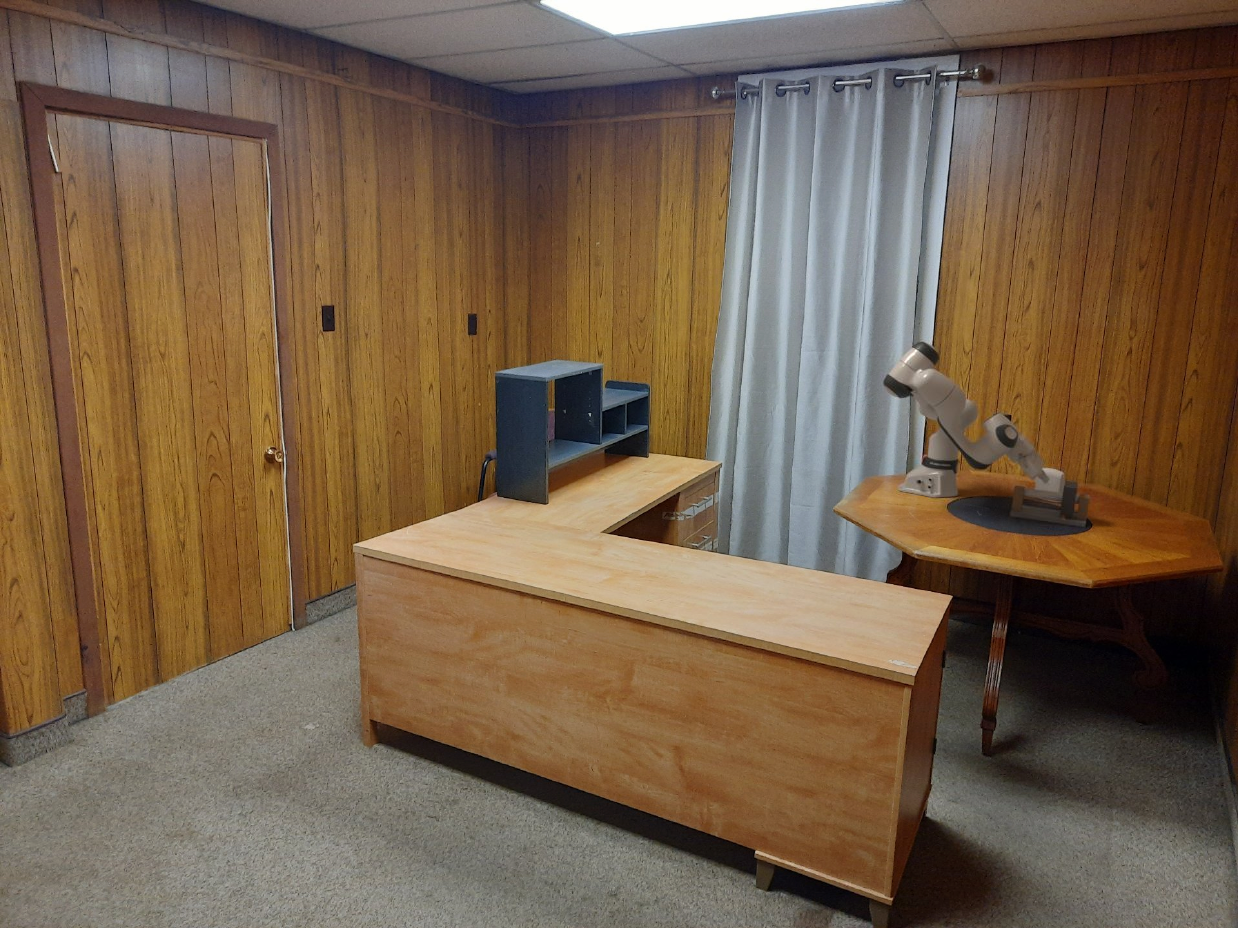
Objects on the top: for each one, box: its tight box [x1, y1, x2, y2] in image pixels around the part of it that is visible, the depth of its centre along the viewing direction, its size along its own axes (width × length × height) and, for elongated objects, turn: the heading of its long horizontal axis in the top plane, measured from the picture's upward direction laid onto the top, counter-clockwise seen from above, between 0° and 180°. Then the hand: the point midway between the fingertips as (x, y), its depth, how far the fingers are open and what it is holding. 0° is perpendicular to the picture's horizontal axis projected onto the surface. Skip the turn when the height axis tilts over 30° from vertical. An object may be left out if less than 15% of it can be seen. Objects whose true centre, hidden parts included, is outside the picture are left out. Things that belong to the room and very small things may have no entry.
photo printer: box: [1034, 467, 1066, 504], centre depth 330 cm, size 10×4×12 cm, turn 39°
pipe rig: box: [1009, 485, 1091, 528], centre depth 307 cm, size 24×12×10 cm, turn 60°
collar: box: [1059, 480, 1079, 516], centre depth 304 cm, size 4×10×10 cm, turn 150°
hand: (1047, 481), depth 307 cm, fingers closed
